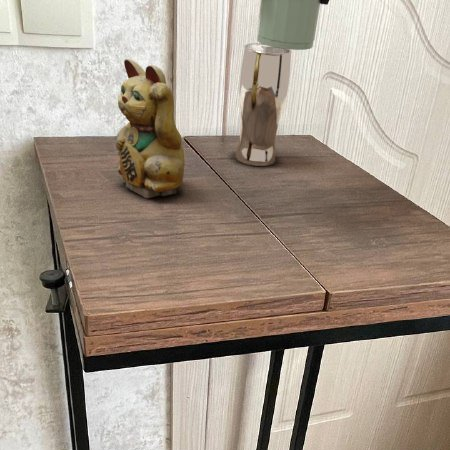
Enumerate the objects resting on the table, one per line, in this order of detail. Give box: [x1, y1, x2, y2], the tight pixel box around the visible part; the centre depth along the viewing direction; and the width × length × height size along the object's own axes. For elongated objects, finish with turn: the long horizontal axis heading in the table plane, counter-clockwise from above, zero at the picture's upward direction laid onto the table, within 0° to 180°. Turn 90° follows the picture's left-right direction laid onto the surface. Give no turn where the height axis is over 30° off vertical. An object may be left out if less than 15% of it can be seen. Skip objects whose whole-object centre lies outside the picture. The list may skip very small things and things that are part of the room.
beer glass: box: [234, 42, 293, 167], centre depth 90 cm, size 7×7×15 cm
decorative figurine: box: [115, 58, 185, 199], centre depth 78 cm, size 10×8×15 cm
